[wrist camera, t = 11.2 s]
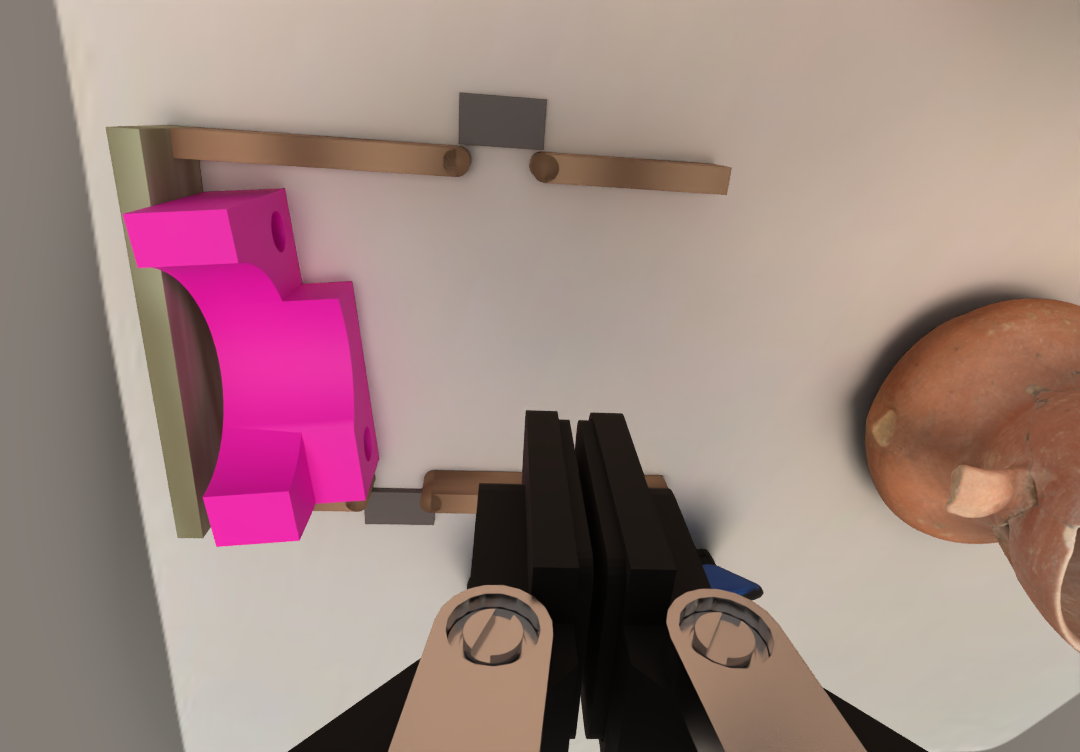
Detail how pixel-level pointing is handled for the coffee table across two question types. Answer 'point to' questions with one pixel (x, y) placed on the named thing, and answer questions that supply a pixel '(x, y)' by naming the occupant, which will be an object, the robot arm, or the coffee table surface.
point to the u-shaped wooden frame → (182, 331)
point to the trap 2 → (502, 121)
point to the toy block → (268, 361)
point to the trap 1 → (396, 507)
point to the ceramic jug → (991, 443)
